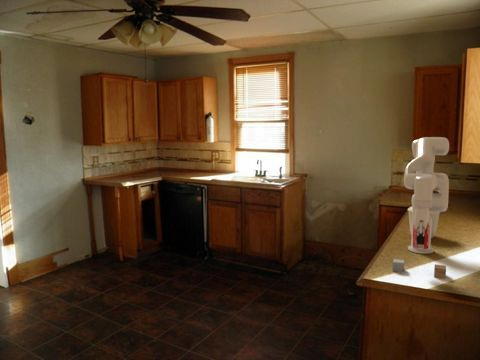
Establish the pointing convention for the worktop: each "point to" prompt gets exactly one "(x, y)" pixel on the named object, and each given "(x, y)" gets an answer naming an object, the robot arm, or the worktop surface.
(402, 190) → the worktop surface
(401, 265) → the slate grey block
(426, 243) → the soda can
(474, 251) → the worktop surface
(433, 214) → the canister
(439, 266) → the walnut block
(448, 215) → the worktop surface
